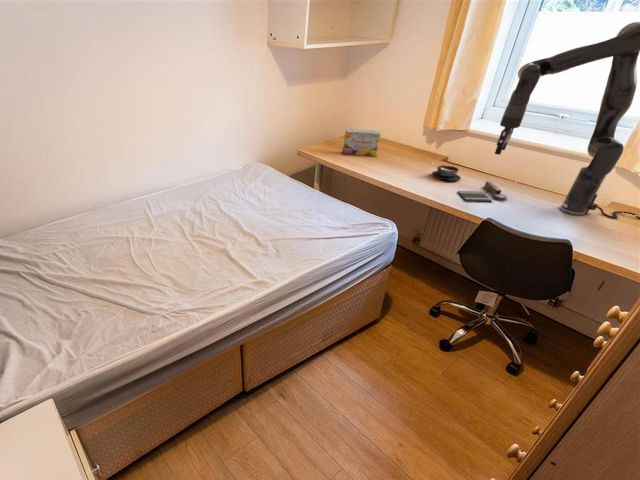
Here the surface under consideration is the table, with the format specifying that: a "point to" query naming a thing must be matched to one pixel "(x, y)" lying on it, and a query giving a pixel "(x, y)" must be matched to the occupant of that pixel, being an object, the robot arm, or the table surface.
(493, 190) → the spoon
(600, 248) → the table surface
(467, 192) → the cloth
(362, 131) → the snack box
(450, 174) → the black cup and saucer
